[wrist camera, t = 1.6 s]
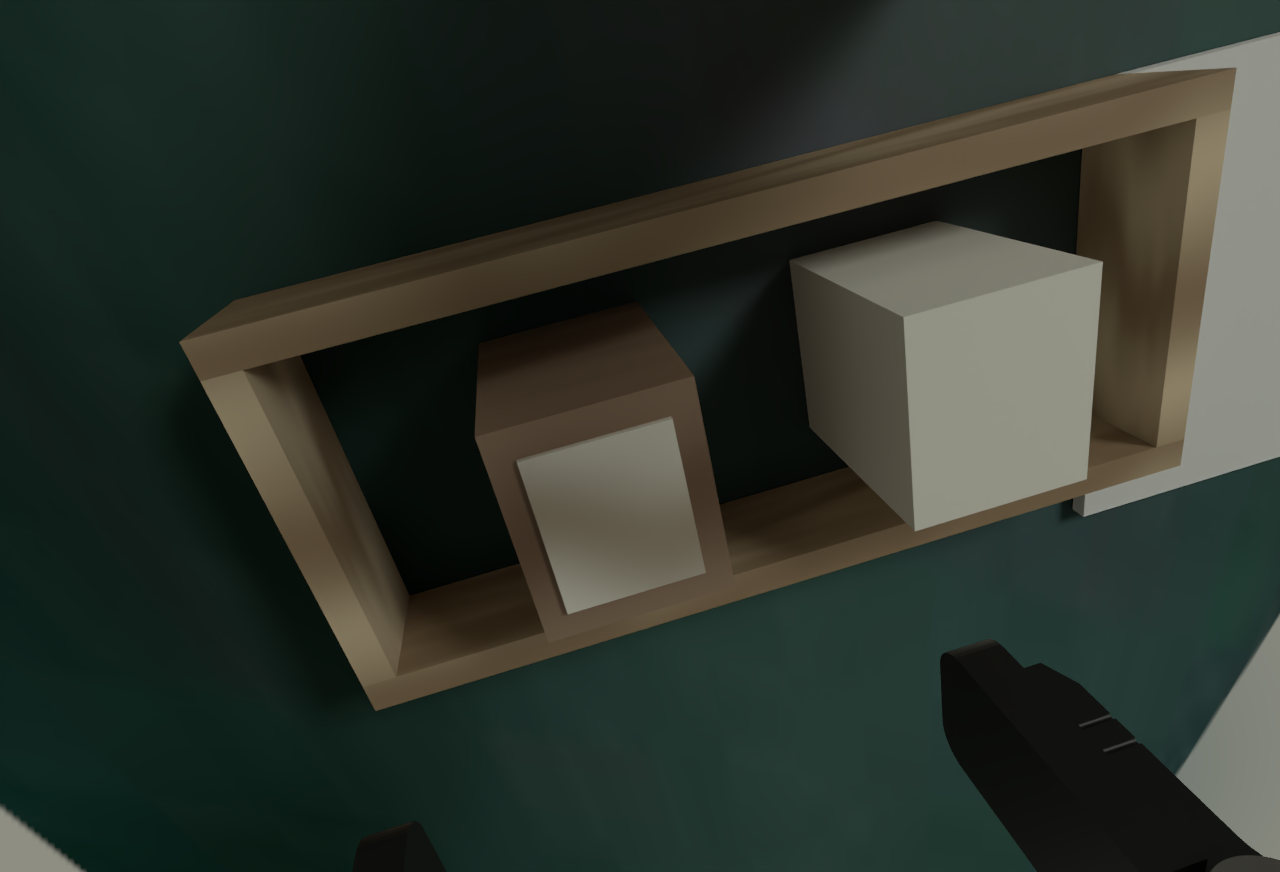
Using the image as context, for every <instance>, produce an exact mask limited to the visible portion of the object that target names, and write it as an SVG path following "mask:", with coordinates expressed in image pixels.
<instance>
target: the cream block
mask: <svg viewBox="0 0 1280 872" xmlns="http://www.w3.org/2000/svg"><path fill="white" fill-rule="evenodd" d="M789 262H790V271H791V279H792V287H793V295H794V303H795V312H796V320H797V328H798V336H799V344H800V353H801V361H802V369H803V377H804V385H805V394H806V402H807V410H808V418H809V426H810V428H811V429H812V430H813V431H814V432H815V433H816V434H817V435H818V436H819V437H820V438H821V439H822V440H823V441H824V442H825V443H826V444H827V445H828V446H829V447H830V448H831V449H832V450H833V451H834V452H835V453H836V454H837V455H838V456H839V457H840V458H841V459H842V460H843V461H844V462H845V463H846V464H847V465H848V466H849V467H850V468H851V469H852V470H853V471H854V472H855V473H856V474H857V475H858V476H859V477H860V478H861V479H862V480H863V481H864V482H865V483H866V484H867V485H868V486H869V487H870V488H871V489H872V490H873V491H874V492H875V493H876V494H877V495H878V496H879V497H880V498H881V499H882V500H884V501H885V502H886V503H887V504H888V505H889V506H890V507H891V508H892V509H893V510H894V511H895V512H896V513H897V514H898V515H899V516H900V517H901V518H902V519H903V520H904V521H905V522H906V523H907V524H908V525H909V526H910V527H911V528H912V529H913V530H914V531H918V530H922V529H925V528H928V527H931V526H935V525H938V524H941V523H945V522H948V521H951V520H954V519H958V518H961V517H964V516H968V515H971V514H974V513H977V512H981V511H984V510H987V509H991V508H994V507H997V506H1000V505H1004V504H1007V503H1010V502H1014V501H1017V500H1020V499H1023V498H1027V497H1030V496H1033V495H1037V494H1040V493H1043V492H1046V491H1050V490H1053V489H1056V488H1060V487H1063V486H1066V485H1069V484H1073V483H1076V482H1079V481H1083V480H1086V479H1087V470H1088V456H1089V443H1090V429H1091V416H1092V402H1093V389H1094V375H1095V362H1096V348H1097V335H1098V321H1099V308H1100V294H1101V280H1102V267H1103V262H1102V261H1098V260H1094V259H1090V258H1086V257H1082V256H1078V255H1074V254H1070V253H1066V252H1062V251H1058V250H1054V249H1049V248H1045V247H1041V246H1037V245H1033V244H1029V243H1025V242H1021V241H1017V240H1013V239H1009V238H1005V237H1001V236H997V235H993V234H989V233H985V232H981V231H977V230H973V229H969V228H965V227H961V226H957V225H952V224H948V223H944V222H940V221H933V222H929V223H926V224H922V225H918V226H915V227H911V228H907V229H903V230H900V231H896V232H892V233H888V234H885V235H881V236H877V237H873V238H870V239H866V240H862V241H859V242H855V243H851V244H847V245H844V246H840V247H836V248H832V249H829V250H825V251H821V252H817V253H814V254H810V255H806V256H802V257H799V258H795V259H791V260H789Z"/></svg>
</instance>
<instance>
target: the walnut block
mask: <svg viewBox="0 0 1280 872" xmlns="http://www.w3.org/2000/svg"><path fill="white" fill-rule="evenodd" d="M475 439H476V442H477V445H478V448H479V451H480V453H481V456H482V459H483V462H484V464H485V467H486V470H487V473H488V476H489V478H490V481H491V484H492V487H493V489H494V492H495V495H496V498H497V501H498V503H499V506H500V509H501V512H502V515H503V517H504V520H505V523H506V526H507V528H508V531H509V534H510V537H511V540H512V542H513V545H514V548H515V551H516V553H517V556H518V559H519V562H520V565H521V567H522V570H523V573H524V576H525V578H526V581H527V584H528V587H529V590H530V592H531V595H532V598H533V601H534V604H535V606H536V609H537V612H538V615H539V617H540V620H541V623H542V626H543V629H544V631H545V634H546V637H547V640H548V642H549V643H550V642H553V641H556V640H560V639H563V638H566V637H569V636H573V635H576V634H579V633H583V632H586V631H589V630H592V629H596V628H599V627H602V626H606V625H609V624H612V623H616V622H619V621H622V620H625V619H629V618H632V617H635V616H639V615H642V614H645V613H648V612H652V611H655V610H658V609H662V608H665V607H668V606H671V605H675V604H678V603H681V602H685V601H688V600H691V599H694V598H698V597H701V596H704V595H708V594H711V593H714V592H718V591H721V590H724V589H727V588H731V587H734V586H735V582H734V577H733V571H732V566H731V561H730V556H729V551H728V546H727V541H726V536H725V531H724V526H723V521H722V515H721V510H720V505H719V500H718V495H717V490H716V485H715V480H714V475H713V470H712V464H711V459H710V454H709V449H708V444H707V439H706V434H705V429H704V424H703V419H702V413H701V408H700V403H699V398H698V393H697V388H696V383H695V378H694V375H693V374H692V373H691V371H690V370H689V369H688V367H687V366H686V365H685V363H684V362H683V361H682V359H681V358H680V357H679V356H678V354H677V353H676V352H675V350H674V349H673V348H672V346H671V345H670V344H669V343H668V341H667V340H666V339H665V337H664V336H663V335H662V333H661V332H660V331H659V329H658V328H657V327H656V326H655V324H654V323H653V322H652V320H651V319H650V318H649V316H648V315H647V314H646V313H645V311H644V310H643V309H642V307H641V306H640V305H639V303H638V302H637V301H635V302H631V303H627V304H624V305H620V306H616V307H612V308H609V309H605V310H601V311H597V312H594V313H590V314H586V315H583V316H579V317H575V318H571V319H568V320H564V321H560V322H556V323H553V324H549V325H545V326H542V327H538V328H534V329H530V330H527V331H523V332H519V333H515V334H512V335H508V336H504V337H501V338H497V339H493V340H489V341H486V342H482V343H479V348H478V371H477V395H476V418H475Z"/></svg>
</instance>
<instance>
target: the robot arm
mask: <svg viewBox="0 0 1280 872" xmlns="http://www.w3.org/2000/svg"><path fill="white" fill-rule="evenodd" d="M940 670H941V693H942V716H943V727H944V731H945V735H946V738H947V740H948V743H949V745H950V748H951V750H952V752H953V754H954V756H955V758H956V759H957V761H958V763H959V764H960V766H961V767H962V769H963V770H964V771H965V773H966V774H967V776H968V777H969V778H970V780H971V781H972V782H973V784H974V785H975V787H976V788H977V789H978V791H979V792H980V793H981V795H982V796H983V798H984V799H985V800H986V802H987V803H988V804H989V806H990V807H991V809H992V810H993V811H994V813H995V814H996V816H997V817H998V818H999V820H1000V821H1001V822H1002V824H1003V825H1004V827H1005V828H1006V829H1007V831H1008V832H1009V833H1010V835H1011V836H1012V838H1013V839H1014V840H1015V842H1016V843H1017V844H1018V846H1019V847H1020V849H1021V850H1022V851H1023V853H1024V854H1025V856H1026V857H1027V858H1028V860H1029V861H1030V862H1031V864H1032V865H1033V867H1034V868H1035V869H1036V871H1037V872H1280V860H1276V859H1273V858H1268V857H1263V856H1262V855H1260V854H1259V853H1258V852H1256V851H1255V850H1254V849H1252V848H1251V847H1250V846H1248V845H1247V844H1246V843H1245V842H1244V841H1243V840H1242V839H1240V838H1239V837H1238V836H1237V835H1236V834H1235V833H1234V832H1233V831H1232V830H1231V829H1230V828H1229V827H1228V826H1227V825H1226V824H1225V823H1224V822H1223V821H1221V820H1220V819H1219V818H1218V817H1217V816H1216V815H1215V814H1214V813H1213V812H1212V811H1211V810H1210V809H1209V808H1208V807H1207V806H1206V805H1205V804H1204V803H1203V802H1202V801H1201V800H1200V799H1199V798H1198V797H1197V796H1196V795H1194V794H1193V793H1192V792H1191V791H1190V790H1189V789H1188V788H1187V787H1186V786H1185V785H1184V784H1183V783H1182V782H1181V781H1180V780H1179V779H1178V778H1177V777H1176V776H1175V775H1174V774H1173V773H1172V772H1171V771H1170V770H1168V769H1167V768H1166V767H1165V766H1164V765H1163V764H1162V763H1161V762H1160V761H1159V760H1158V759H1157V758H1156V757H1155V756H1154V755H1153V754H1152V753H1151V752H1150V751H1149V750H1148V749H1147V748H1146V747H1145V746H1144V745H1143V744H1141V743H1140V744H1138V743H1137V742H1136V740H1135V737H1134V736H1133V735H1132V734H1131V733H1130V732H1129V731H1128V730H1127V729H1126V728H1125V727H1124V726H1123V725H1122V724H1121V723H1120V722H1119V721H1118V720H1117V719H1112V718H1111V716H1110V714H1109V712H1108V711H1107V710H1106V709H1105V708H1104V707H1103V706H1102V705H1101V704H1100V703H1099V702H1098V701H1097V700H1096V699H1095V698H1094V697H1093V696H1092V695H1091V694H1089V693H1088V692H1087V691H1086V690H1085V689H1084V688H1083V687H1082V686H1081V685H1080V684H1079V683H1077V682H1075V681H1073V680H1072V679H1070V678H1068V677H1066V676H1064V675H1062V674H1060V673H1058V672H1057V671H1055V670H1053V669H1051V668H1049V667H1047V666H1045V665H1044V664H1042V663H1039V664H1036V665H1032V666H1029V667H1026V668H1023V667H1022V666H1021V665H1020V664H1019V663H1018V662H1017V661H1016V660H1015V659H1014V658H1013V657H1012V656H1011V654H1010V653H1009V652H1008V651H1007V650H1006V649H1005V648H1004V647H1003V646H1002V645H1001V644H999V643H998V642H996V641H995V640H992V639H987V640H984V641H980V642H977V643H974V644H971V645H968V646H965V647H962V648H959V649H956V650H952V651H949V652H946V653H944V654H942V656H941V659H940ZM353 872H446V870H445V868H444V866H443V864H442V862H441V860H440V859H439V857H438V855H437V853H436V851H435V849H434V847H433V846H432V844H431V842H430V840H429V838H428V836H427V835H426V833H425V831H424V829H423V827H422V826H421V824H420V823H419V822H417V821H413V822H410V823H407V824H403V825H400V826H397V827H394V828H391V829H388V830H385V831H382V832H378V833H375V834H372V835H369V836H366V837H364V838H362V840H361V841H360V843H359V845H358V848H357V851H356V856H355V861H354V867H353Z"/></svg>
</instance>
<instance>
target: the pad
mask: <svg viewBox="0 0 1280 872" xmlns="http://www.w3.org/2000/svg"><path fill="white" fill-rule="evenodd" d="M1219 68H1237V69H1236V76H1235V83H1234V90H1233V97H1232V104H1231V111H1230V119H1229V126H1228V133H1227V140H1226V147H1225V154H1224V161H1223V168H1222V175H1221V182H1220V189H1219V196H1218V204H1217V211H1216V218H1215V225H1214V232H1213V239H1212V246H1211V253H1210V260H1209V267H1208V274H1207V281H1206V289H1205V296H1204V303H1203V310H1202V317H1201V324H1200V331H1199V338H1198V345H1197V352H1196V359H1195V366H1194V374H1193V381H1192V388H1191V395H1190V402H1189V409H1188V416H1187V423H1186V430H1185V437H1184V444H1183V451H1182V458H1181V465H1180V466H1177V467H1174V468H1170V469H1167V470H1164V471H1161V472H1157V473H1154V474H1151V475H1147V476H1144V477H1141V478H1138V479H1134V480H1131V481H1128V482H1124V483H1121V484H1118V485H1115V486H1111V487H1108V488H1105V489H1102V490H1098V491H1095V492H1092V493H1088V494H1085V495H1082V496H1079V497H1075V498H1073V510H1074V511H1076V512H1077V513H1079V514H1080V515H1082V516H1083V517H1085V516H1088V515H1091V514H1094V513H1098V512H1101V511H1104V510H1107V509H1111V508H1114V507H1117V506H1120V505H1124V504H1127V503H1130V502H1133V501H1137V500H1140V499H1143V498H1146V497H1150V496H1153V495H1156V494H1159V493H1163V492H1166V491H1169V490H1172V489H1176V488H1179V487H1182V486H1185V485H1189V484H1192V483H1195V482H1198V481H1202V480H1205V479H1208V478H1211V477H1215V476H1218V475H1221V474H1224V473H1228V472H1231V471H1234V470H1237V469H1241V468H1244V467H1247V466H1250V465H1254V464H1257V463H1260V462H1263V461H1267V460H1270V459H1273V458H1276V457H1280V32H1278V33H1274V34H1270V35H1267V36H1263V37H1259V38H1255V39H1251V40H1247V41H1243V42H1239V43H1235V44H1231V45H1228V46H1224V47H1220V48H1216V49H1212V50H1208V51H1204V52H1200V53H1196V54H1192V55H1189V56H1185V57H1181V58H1177V59H1173V60H1169V61H1165V62H1161V63H1157V64H1153V65H1150V66H1146V67H1142V68H1138V69H1134V70H1130V71H1126V72H1122V73H1118V74H1128V73H1147V72H1165V71H1183V70H1201V69H1219Z"/></svg>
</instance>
